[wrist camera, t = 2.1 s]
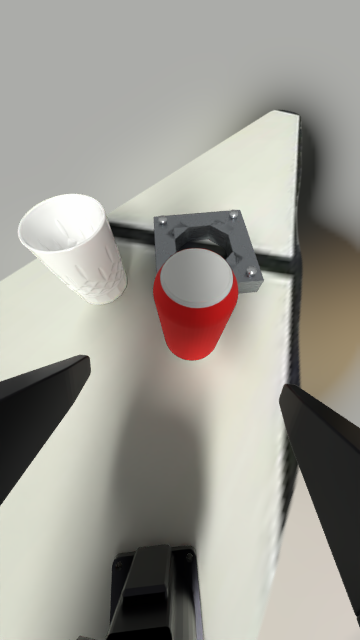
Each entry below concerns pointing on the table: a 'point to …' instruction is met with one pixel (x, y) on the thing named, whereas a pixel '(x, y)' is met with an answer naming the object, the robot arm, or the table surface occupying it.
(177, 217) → the housing
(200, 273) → the beverage can
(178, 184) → the table surface
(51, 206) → the white cup
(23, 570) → the table surface
